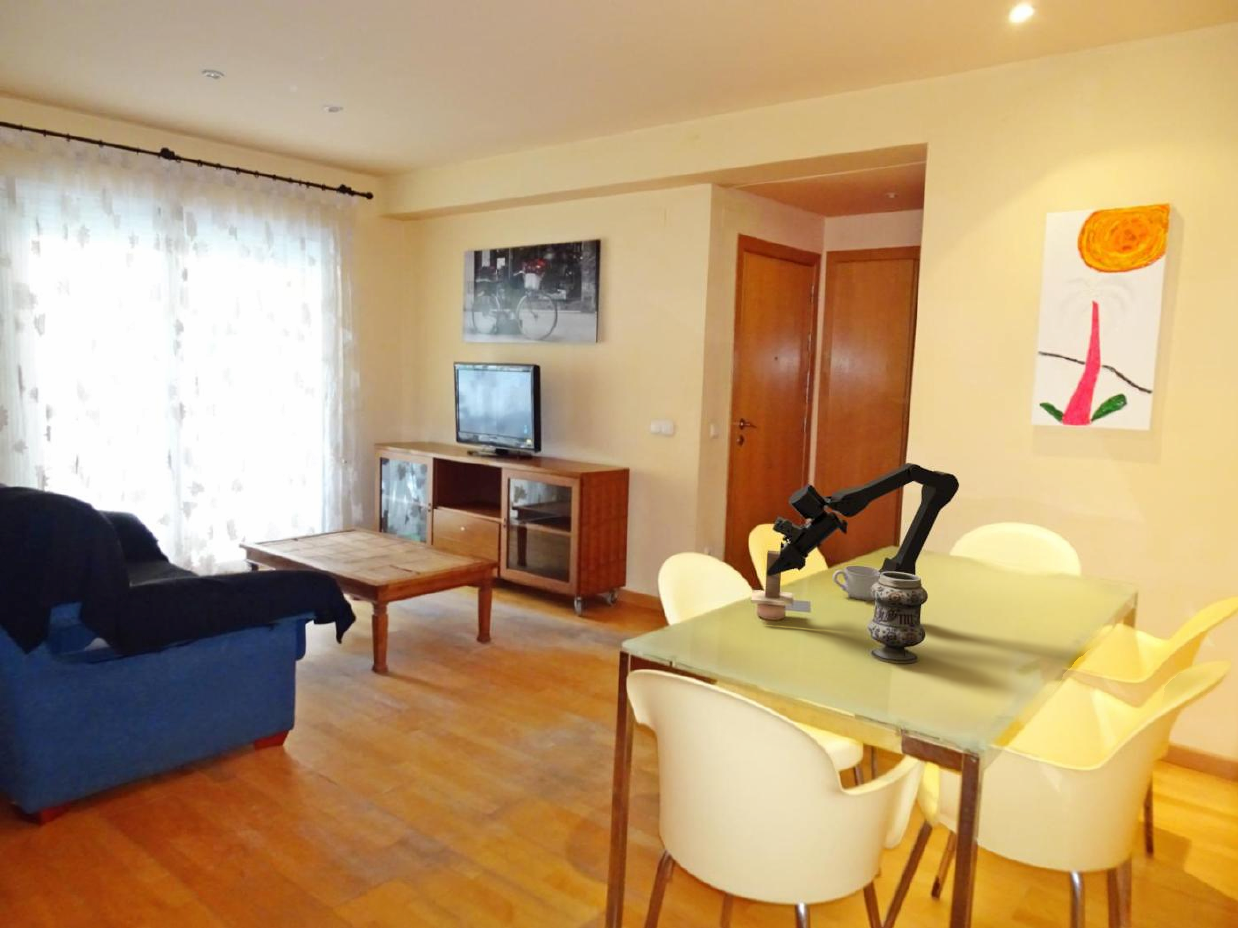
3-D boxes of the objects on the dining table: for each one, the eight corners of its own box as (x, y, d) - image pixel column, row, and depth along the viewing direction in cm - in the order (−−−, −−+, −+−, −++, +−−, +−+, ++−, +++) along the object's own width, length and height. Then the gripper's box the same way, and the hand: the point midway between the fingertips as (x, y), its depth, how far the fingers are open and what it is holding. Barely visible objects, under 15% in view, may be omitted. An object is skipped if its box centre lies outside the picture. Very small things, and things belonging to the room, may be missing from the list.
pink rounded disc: (789, 622, 213) (790, 606, 213) (762, 622, 212) (763, 606, 211) (779, 614, 220) (779, 598, 220) (752, 614, 219) (753, 599, 218)
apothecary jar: (928, 654, 192) (934, 574, 190) (916, 669, 182) (923, 585, 180) (873, 644, 198) (878, 566, 196) (858, 658, 188) (864, 576, 186)
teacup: (878, 594, 245) (880, 566, 244) (886, 604, 234) (888, 575, 234) (828, 591, 246) (830, 563, 246) (833, 601, 236) (835, 571, 235)
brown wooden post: (792, 596, 219) (795, 549, 218) (792, 606, 210) (795, 557, 208) (752, 592, 221) (755, 546, 220) (750, 602, 211) (753, 554, 210)
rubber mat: (809, 602, 233) (809, 601, 233) (810, 613, 222) (810, 612, 222) (767, 599, 235) (767, 597, 235) (766, 609, 224) (766, 608, 224)
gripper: (793, 501, 221) (747, 541, 225) (793, 512, 203) (743, 555, 206) (823, 534, 221) (777, 573, 224) (826, 548, 202) (775, 591, 206)
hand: (767, 572), depth 215 cm, fingers closed on brown wooden post, 3 cm apart
